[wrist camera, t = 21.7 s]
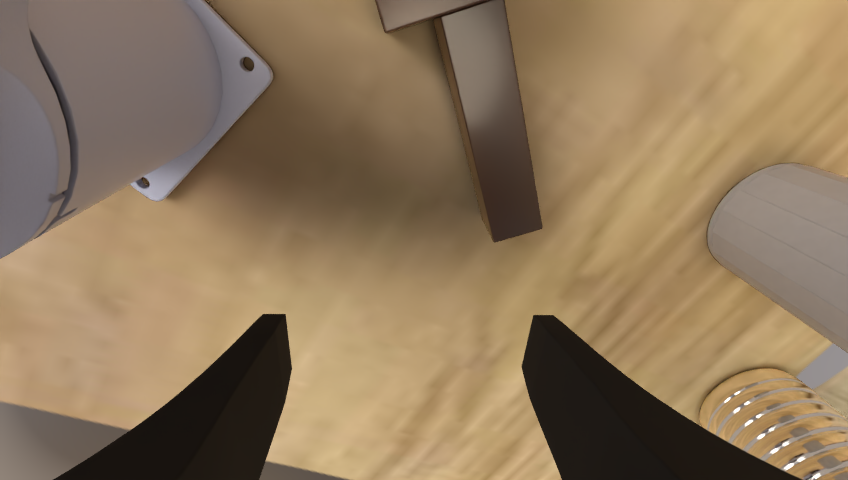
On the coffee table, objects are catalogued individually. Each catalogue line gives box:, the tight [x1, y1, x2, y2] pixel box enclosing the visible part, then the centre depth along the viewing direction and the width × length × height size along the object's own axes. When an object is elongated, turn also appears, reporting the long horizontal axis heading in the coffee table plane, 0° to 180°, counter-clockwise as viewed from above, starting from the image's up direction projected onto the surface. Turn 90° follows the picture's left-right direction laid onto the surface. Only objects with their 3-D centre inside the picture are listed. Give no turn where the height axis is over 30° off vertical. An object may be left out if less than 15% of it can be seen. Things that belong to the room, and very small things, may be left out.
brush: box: [375, 0, 543, 242], centre depth 15 cm, size 6×12×4 cm, turn 16°
